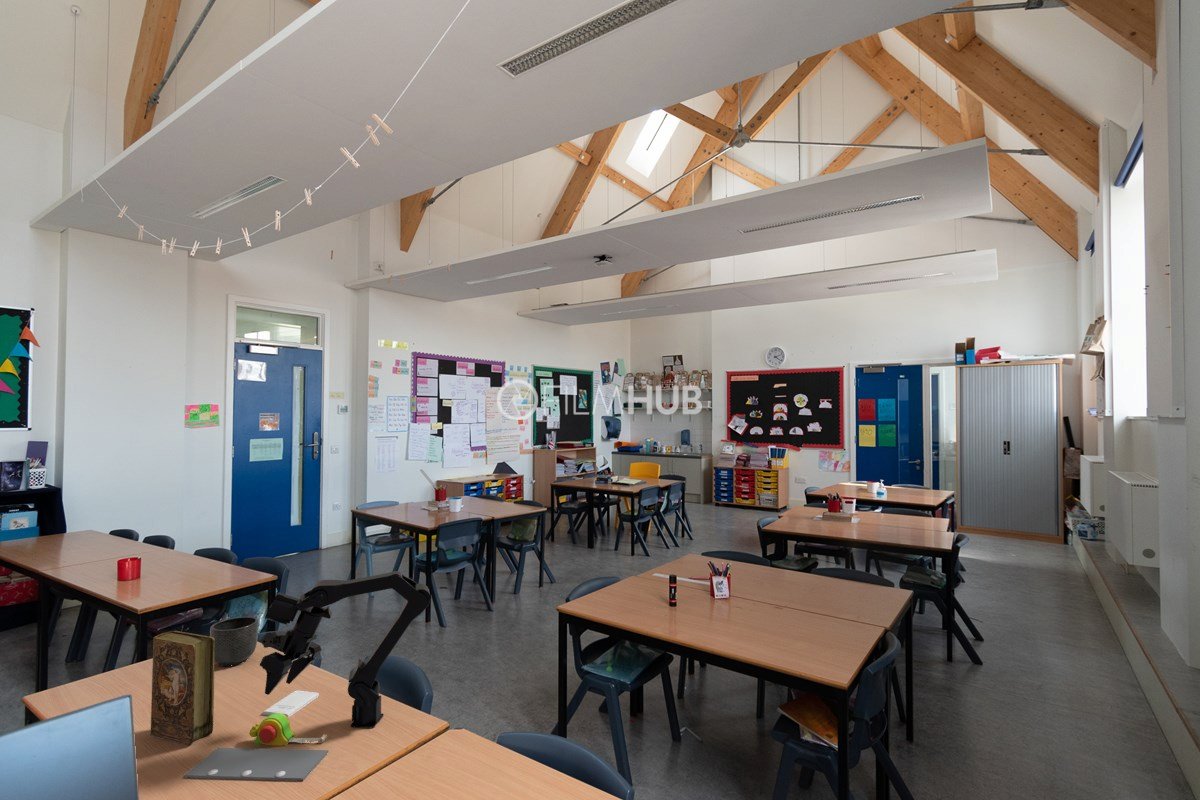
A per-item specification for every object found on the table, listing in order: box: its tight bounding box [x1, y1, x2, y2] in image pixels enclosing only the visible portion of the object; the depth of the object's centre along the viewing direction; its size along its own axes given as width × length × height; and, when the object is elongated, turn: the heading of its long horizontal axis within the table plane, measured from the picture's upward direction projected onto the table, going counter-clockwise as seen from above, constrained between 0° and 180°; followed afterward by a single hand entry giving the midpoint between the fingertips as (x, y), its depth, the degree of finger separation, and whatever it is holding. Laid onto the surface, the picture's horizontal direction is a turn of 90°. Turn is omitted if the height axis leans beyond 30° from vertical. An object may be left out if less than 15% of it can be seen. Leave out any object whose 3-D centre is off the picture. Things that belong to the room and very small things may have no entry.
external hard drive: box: [262, 690, 320, 719], centre depth 162 cm, size 2×8×12 cm
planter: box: [209, 616, 260, 667], centre depth 192 cm, size 14×14×13 cm
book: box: [150, 630, 215, 746], centre depth 147 cm, size 16×6×25 cm, turn 71°
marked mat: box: [183, 747, 329, 782], centre depth 134 cm, size 28×11×1 cm, turn 87°
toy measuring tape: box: [248, 713, 328, 746], centre depth 144 cm, size 6×19×7 cm, turn 88°
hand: (277, 688), depth 146 cm, fingers open, 9 cm apart
